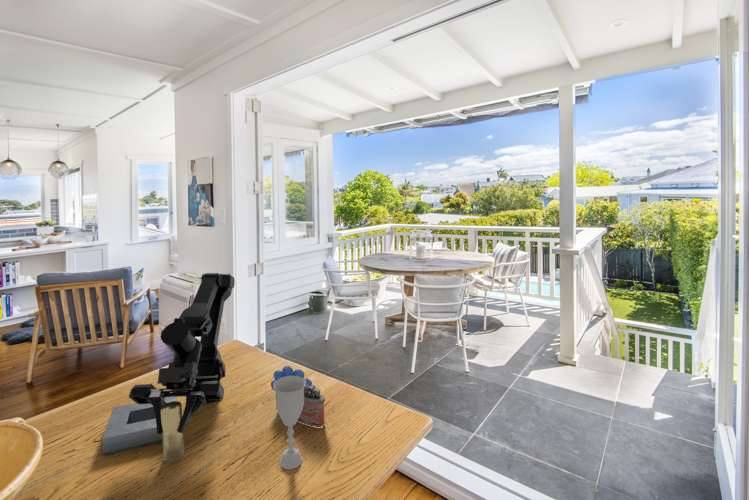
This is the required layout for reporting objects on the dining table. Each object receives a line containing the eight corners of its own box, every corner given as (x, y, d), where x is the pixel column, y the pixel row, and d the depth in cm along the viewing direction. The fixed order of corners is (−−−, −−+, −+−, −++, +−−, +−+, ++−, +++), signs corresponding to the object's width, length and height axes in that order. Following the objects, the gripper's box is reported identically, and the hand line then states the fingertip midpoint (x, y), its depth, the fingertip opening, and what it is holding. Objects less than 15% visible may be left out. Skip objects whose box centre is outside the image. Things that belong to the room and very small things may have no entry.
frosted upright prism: (184, 449, 86) (181, 399, 84) (184, 460, 82) (181, 408, 80) (164, 454, 84) (161, 403, 82) (163, 465, 80) (159, 413, 79)
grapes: (266, 415, 99) (265, 372, 98) (274, 402, 106) (273, 361, 104) (309, 417, 99) (309, 374, 97) (315, 403, 105) (314, 363, 104)
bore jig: (176, 409, 102) (175, 395, 101) (175, 438, 89) (174, 423, 89) (114, 421, 95) (113, 407, 95) (103, 455, 83) (102, 438, 82)
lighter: (327, 423, 96) (327, 386, 95) (320, 430, 93) (320, 392, 92) (301, 415, 100) (301, 379, 98) (293, 422, 97) (293, 385, 95)
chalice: (277, 450, 86) (276, 375, 83) (308, 449, 86) (307, 375, 84) (272, 473, 78) (270, 392, 76) (304, 472, 79) (304, 391, 77)
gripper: (129, 350, 82) (105, 427, 73) (219, 347, 85) (206, 421, 76) (148, 368, 91) (128, 439, 82) (228, 365, 94) (218, 433, 84)
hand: (169, 433), depth 81 cm, fingers closed on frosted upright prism, 4 cm apart
